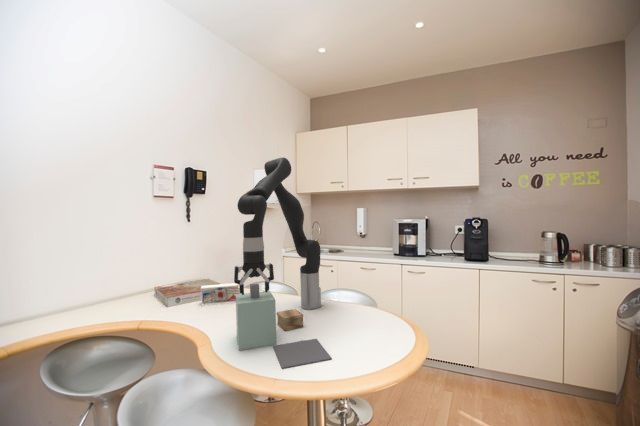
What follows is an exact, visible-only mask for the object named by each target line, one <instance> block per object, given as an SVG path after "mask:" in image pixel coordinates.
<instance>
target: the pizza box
mask: <svg viewBox="0 0 640 426" xmlns="http://www.w3.org/2000/svg"><path fill="white" fill-rule="evenodd" d="M218 284H221V283H220V282H217V281H215V280H212V279H210V278H203V279H199V280H198V279H196V280H192V281H191V280H190V281H186V282H178V283H173V284H166V285H161V286H154V290H153V291H154V296H155V297H156V298H157V299H158V300H159V301H160V302H161V303H162V304H164V306H165V307H167V308H171V307H177V306H180V305H181V306H182V305H186V304H192V303H195V302H196V303H197V302H202V291H201V286H205V285H218Z"/></svg>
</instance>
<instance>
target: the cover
mask: <svg viewBox="0 0 640 426" xmlns="http://www.w3.org/2000/svg"><path fill="white" fill-rule="evenodd" d="M276 309H277V308H276V299H275V297H274V296H273V294H272V292H271V291H270V290H269V291H268V292H265V290H264V291H260V284H259V283H250V284H249V292H244V295H242V294H236V303H235V312H236V313H235V314H236V316H235V317H236V320H235V321H236V323H235V324H236V340H237V347H238V351H244V350H250V349H251V350H252V349H256V348H263V347H269V346H274V345H277V312H276Z"/></svg>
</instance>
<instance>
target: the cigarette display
mask: <svg viewBox="0 0 640 426" xmlns="http://www.w3.org/2000/svg"><path fill="white" fill-rule="evenodd" d="M201 291H202V301H201V305H200V306H201V307H206V306H207V307H208V306H217V305H226V304H227V305H229V304H236V294H241V293H240V287H239V284H235V282H234V283H233V282H232V283H231V282H230V283H220V284H218V285H205V286H201Z"/></svg>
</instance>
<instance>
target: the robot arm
mask: <svg viewBox="0 0 640 426" xmlns="http://www.w3.org/2000/svg"><path fill="white" fill-rule="evenodd" d="M263 168H264V172H265V175H266V176H264V177H263V178H262V179H260V180H259V181H258V182H257V183H256V185H255V186H254V187H253V188H252V189H250V190H248V191H246V192H245V193H244V194H242V195H241V197H240V198H239V199H238V201H237V210H238V211H239V213H240V214H242V215H247V216H249V215H250V216H251V215H254V216H253V218H252V219H251V220H248V221H245V222H244V223H243V226H242V227H243V229H242V234H243V235H242V237H243V240H242V255H243V258H242V260H243V263H242V264H243V265H242V266H238V265H235V266H234V271H233V272H234V275H233V276H234V278H233V282H234V283H235V284H238V286H239V288H240V293H241V294H242V295H244V294H245V286H244V283H245V282H246V281H247V279H248V278H251V279H252V278H259V277H262V279H263V280H264V291H265V292H268V291H270V282H271V281H274V280H275V275H274V264H272V263H269V264H265V241H264V237H263V236H264V233H263V232H264V231H263V230H264V229H263V227H264V221H265V217H266V213H267V209H268V202H267V201H268V200H269V199H270V197H271V195H272V194H273V192H274V193H275V196H276V198H277V201H278V203H279V206H280V208H281V211H282V214H283V217H284V219H285V221H286V222H287V226H288V228H289V231H290V233H291V237H292V241H293V244H294V248H295V252H296V253H297V255H298V256H299V257H301V258H303V259H305V264H303V265H301V266H300V269H299V270H300V272H299V274H300V278H299V279H300V306H301V308H302V309H304V310H316V309H319V308H322V297H321V296H322V293H321V291H322V290H321V287H320V274H319V273H320V266H321V245H320V243H319V242H318V240H315V239H307V237H306V234H305V232H304V221H305V213H304V210H303V208H302V205H301V203H300V201H299V199H298V198H297V197H295V195H293V194H292V193H291V192H289V190H287V188H285V186H284V184H283V181H285V180H286V179H287V178H288V177H290V176H291V173H292V165H291V163H290V161H289V159H288V158H286V157H278V158H274V159H272V160H268V161H266V162H265V164H264V166H263ZM266 269H267V270H268V271H269V272H268V274H269V276H268V277H267V276H266V274H265V273H264V272H265V270H266ZM241 271H243V272H244V274H243V275H242V277H241V279H239V273H241Z"/></svg>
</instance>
